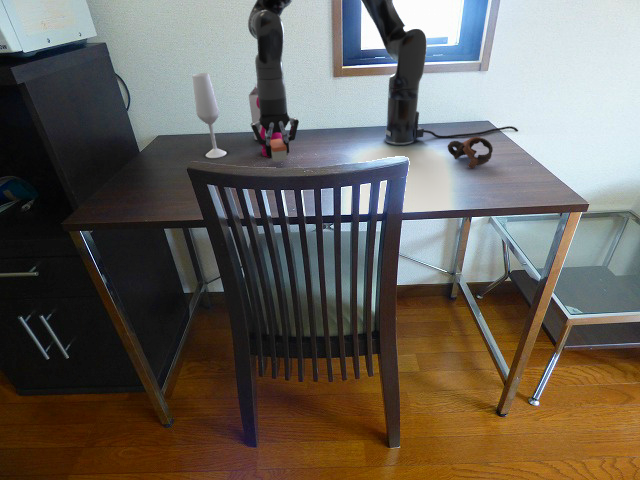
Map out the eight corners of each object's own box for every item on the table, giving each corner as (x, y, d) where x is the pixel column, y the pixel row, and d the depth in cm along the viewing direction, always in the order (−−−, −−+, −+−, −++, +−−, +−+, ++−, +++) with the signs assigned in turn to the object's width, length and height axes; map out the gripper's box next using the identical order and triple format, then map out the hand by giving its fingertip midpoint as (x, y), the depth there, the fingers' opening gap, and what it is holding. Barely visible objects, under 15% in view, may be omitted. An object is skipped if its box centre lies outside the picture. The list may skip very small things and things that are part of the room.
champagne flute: (230, 153, 124) (217, 73, 111) (213, 159, 120) (196, 77, 107) (218, 148, 128) (204, 71, 115) (201, 154, 124) (184, 75, 111)
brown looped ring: (482, 157, 115) (496, 138, 108) (480, 181, 111) (494, 163, 103) (443, 145, 115) (455, 126, 108) (439, 169, 111) (451, 151, 104)
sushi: (281, 152, 117) (280, 138, 114) (287, 160, 111) (286, 146, 109) (268, 153, 116) (267, 140, 114) (274, 162, 110) (272, 148, 108)
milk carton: (282, 136, 136) (277, 79, 126) (270, 143, 131) (263, 84, 121) (267, 134, 139) (260, 78, 129) (254, 140, 134) (246, 82, 124)
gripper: (248, 101, 99) (256, 164, 109) (301, 95, 102) (304, 156, 112) (243, 95, 105) (251, 155, 115) (293, 89, 108) (297, 148, 118)
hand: (278, 155), depth 113 cm, fingers closed on sushi, 4 cm apart
